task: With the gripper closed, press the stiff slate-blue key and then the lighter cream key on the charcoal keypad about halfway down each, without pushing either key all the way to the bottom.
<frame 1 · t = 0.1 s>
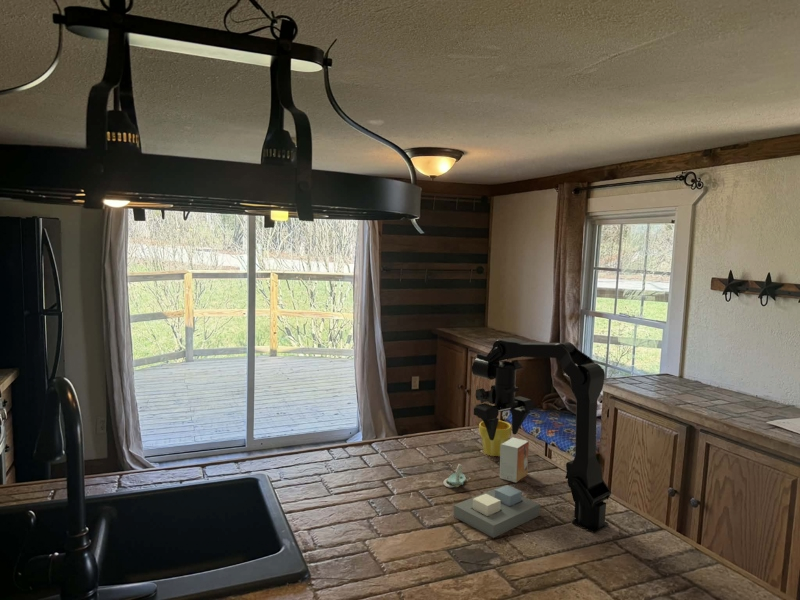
hand: (503, 437, 156), 14 cm above the table, tool pointing down, fingers open, 9 cm apart
keypad: (496, 515, 139), on the table
pacifier: (453, 485, 158), on the table
cream key: (486, 504, 136), point 4 cm above the table, slide at 0.0 cm
plant pot: (494, 453, 183), on the table
small box: (513, 477, 164), on the table
slate key: (508, 495, 142), point 4 cm above the table, slide at 0.0 cm
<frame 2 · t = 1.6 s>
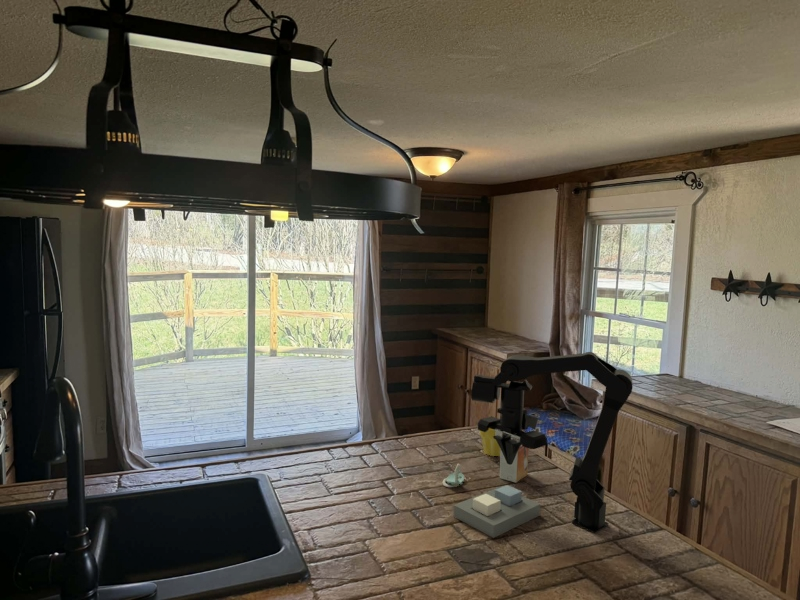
hand: (509, 464, 143), 12 cm above the table, tool pointing down, fingers closed
nothing on the table moved.
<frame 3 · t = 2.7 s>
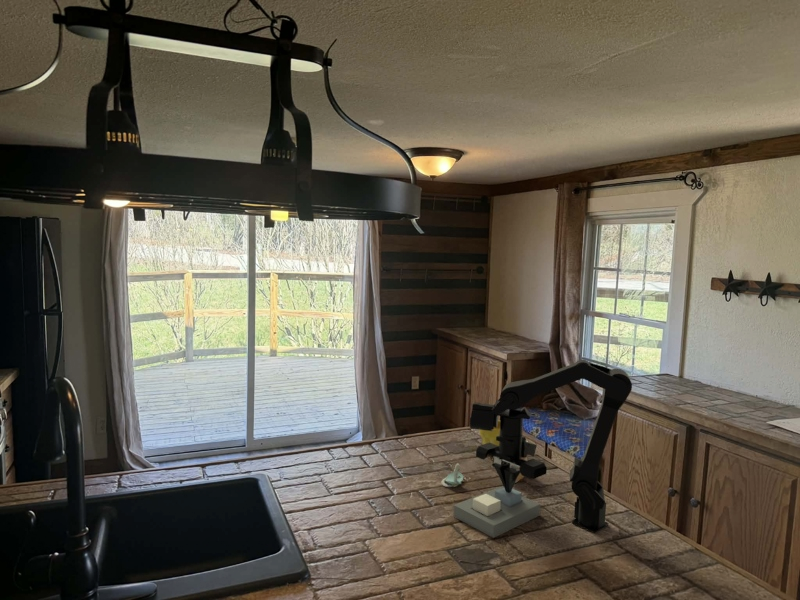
hand: (508, 492, 142), 5 cm above the table, tool pointing down, fingers closed, pressing on slate key
slate key: (508, 496, 142), point 4 cm above the table, slide at 0.4 cm, touching gripper
everything else where it was.
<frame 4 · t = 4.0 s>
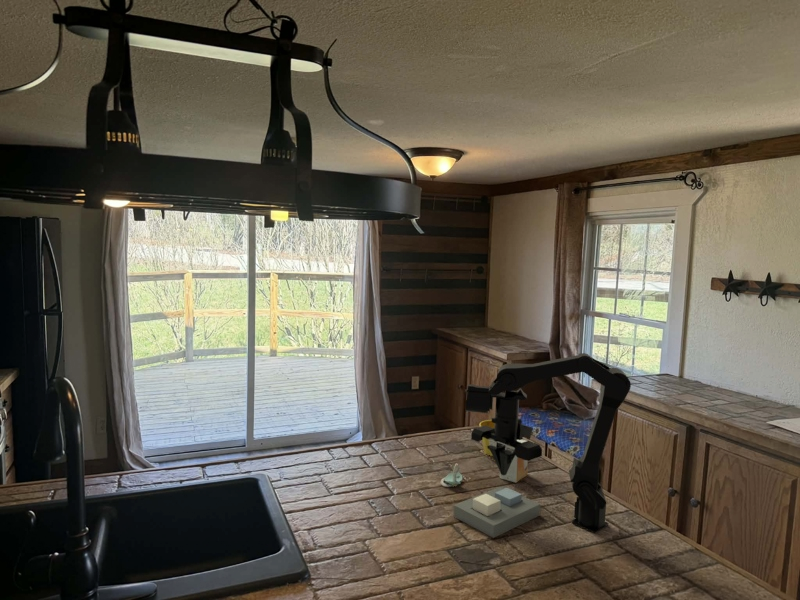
hand: (503, 474, 140), 10 cm above the table, tool pointing down, fingers closed
slate key: (508, 498, 142), point 3 cm above the table, slide at 0.7 cm
everything else where it was.
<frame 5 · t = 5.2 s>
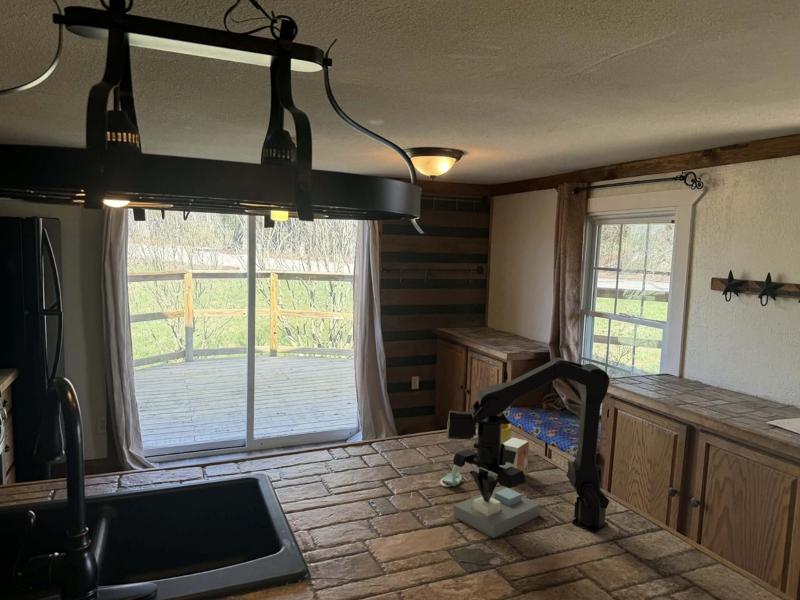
hand: (486, 501, 136), 5 cm above the table, tool pointing down, fingers closed, pressing on cream key
cream key: (486, 506, 136), point 4 cm above the table, slide at 0.4 cm, touching gripper
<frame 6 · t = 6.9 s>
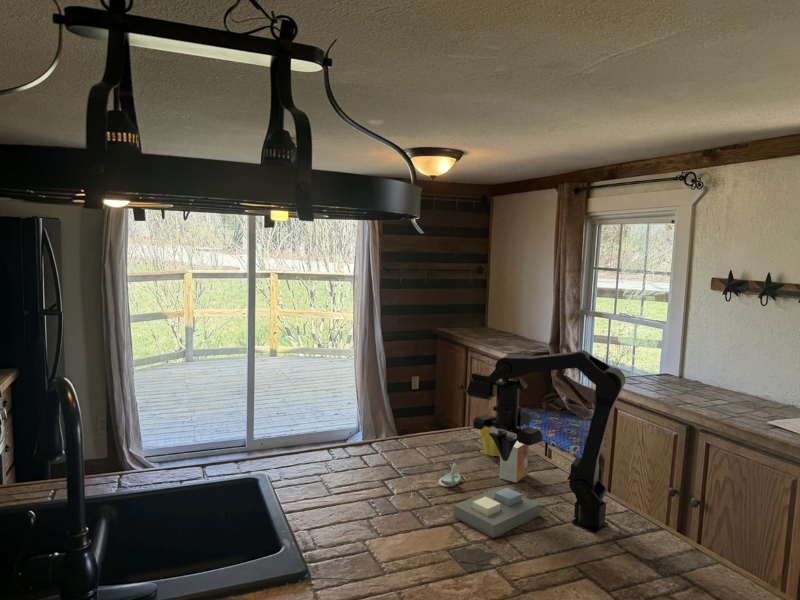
hand: (505, 460, 146), 12 cm above the table, tool pointing down, fingers closed
cream key: (486, 507, 136), point 3 cm above the table, slide at 0.8 cm
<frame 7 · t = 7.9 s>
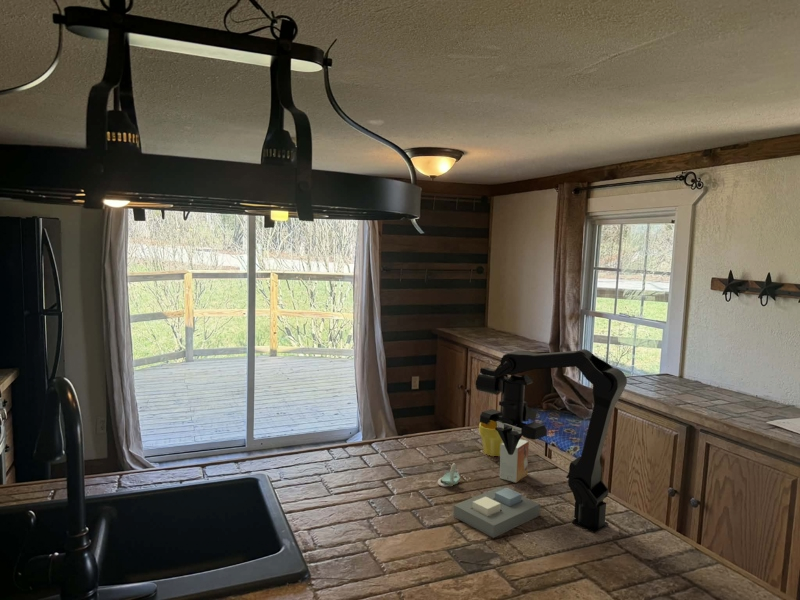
hand: (510, 454, 149), 12 cm above the table, tool pointing down, fingers closed
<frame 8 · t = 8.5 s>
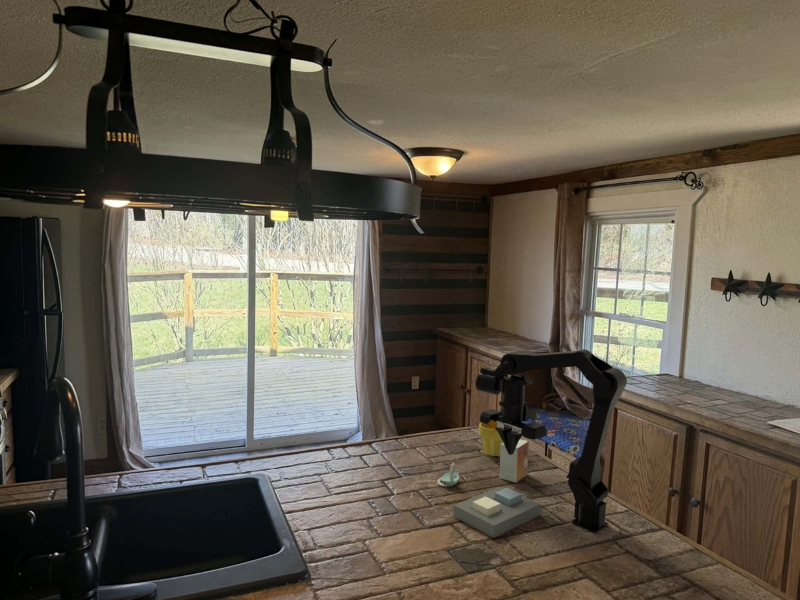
hand: (510, 454, 149), 12 cm above the table, tool pointing down, fingers closed
at the end: slate key slide at 0.7 cm; cream key slide at 0.8 cm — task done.
